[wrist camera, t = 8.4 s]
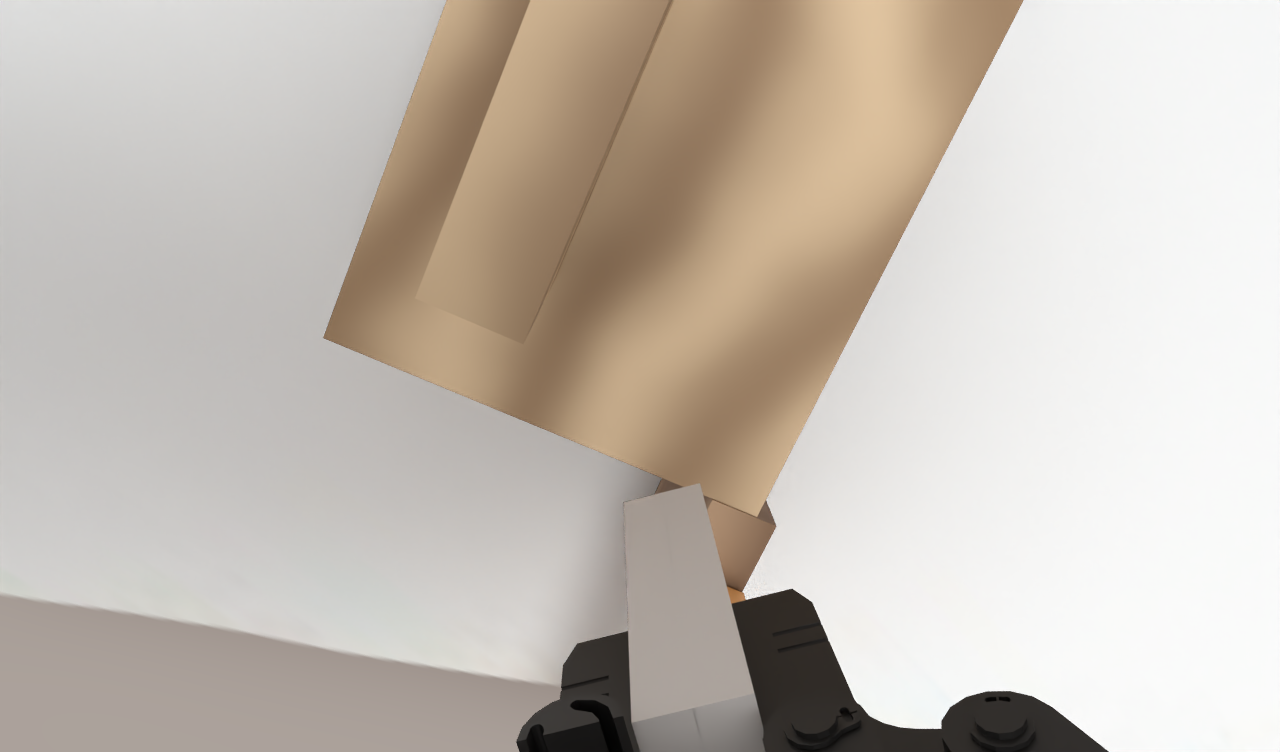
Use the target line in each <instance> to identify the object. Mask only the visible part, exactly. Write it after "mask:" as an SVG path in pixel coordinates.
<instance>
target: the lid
mask: <svg viewBox="0 0 1280 752" xmlns="http://www.w3.org/2000/svg"><path fill="white" fill-rule="evenodd" d="M1022 2H1023V0H447V1H446V4H445V6H444V9H443V12H442V15H441V17H440V20H439V23H438V26H437V28H436V31H435V34H434V36H433V39H432V42H431V45H430V47H429V50H428V53H427V56H426V58H425V61H424V64H423V67H422V69H421V72H420V75H419V77H418V80H417V83H416V86H415V88H414V91H413V94H412V97H411V99H410V102H409V105H408V108H407V110H406V113H405V116H404V118H403V121H402V124H401V127H400V129H399V132H398V135H397V138H396V140H395V143H394V146H393V149H392V151H391V154H390V157H389V159H388V162H387V165H386V168H385V170H384V173H383V176H382V179H381V181H380V184H379V187H378V190H377V192H376V195H375V198H374V200H373V203H372V206H371V209H370V211H369V214H368V217H367V220H366V222H365V225H364V228H363V231H362V233H361V236H360V239H359V241H358V244H357V247H356V250H355V252H354V255H353V258H352V261H351V263H350V266H349V269H348V272H347V274H346V277H345V280H344V282H343V285H342V288H341V291H340V293H339V296H338V299H337V302H336V304H335V307H334V310H333V312H332V315H331V318H330V321H329V323H328V326H327V329H326V332H325V334H324V337H323V338H324V339H327V340H329V341H332V342H334V343H336V344H339V345H341V346H344V347H346V348H349V349H351V350H353V351H356V352H358V353H361V354H363V355H366V356H368V357H370V358H373V359H375V360H378V361H380V362H382V363H385V364H387V365H390V366H392V367H395V368H397V369H399V370H402V371H404V372H407V373H409V374H412V375H414V376H416V377H419V378H421V379H424V380H426V381H428V382H431V383H433V384H436V385H438V386H441V387H443V388H445V389H448V390H450V391H453V392H455V393H458V394H460V395H462V396H465V397H467V398H470V399H472V400H474V401H477V402H479V403H482V404H484V405H487V406H489V407H491V408H494V409H496V410H499V411H501V412H504V413H506V414H508V415H511V416H513V417H516V418H518V419H520V420H523V421H525V422H528V423H530V424H533V425H535V426H537V427H540V428H542V429H545V430H547V431H550V432H552V433H554V434H557V435H559V436H562V437H564V438H566V439H569V440H571V441H574V442H576V443H579V444H581V445H583V446H586V447H588V448H591V449H593V450H596V451H598V452H600V453H603V454H605V455H608V456H610V457H612V458H615V459H617V460H620V461H622V462H625V463H627V464H629V465H632V466H634V467H637V468H639V469H642V470H644V471H646V472H649V473H651V474H654V475H656V476H658V477H661V478H663V479H666V480H668V481H671V482H673V483H675V484H678V485H680V486H683V487H687V486H691V485H695V484H699V483H700V485H701V489H702V493H703V495H704V496H707V497H709V498H712V499H714V500H717V501H719V502H721V503H724V504H726V505H729V506H731V507H734V508H736V509H738V510H741V511H743V512H746V513H748V514H750V515H753V516H755V517H757V516H758V514H759V512H760V510H761V508H762V506H763V504H764V503H765V501H766V499H767V497H768V495H769V493H770V491H771V489H772V487H773V485H774V483H775V481H776V479H777V477H778V475H779V473H780V472H781V470H782V468H783V466H784V464H785V462H786V460H787V458H788V456H789V454H790V452H791V450H792V448H793V446H794V444H795V442H796V440H797V439H798V437H799V435H800V433H801V431H802V429H803V427H804V425H805V423H806V421H807V419H808V417H809V415H810V413H811V411H812V409H813V408H814V406H815V404H816V402H817V400H818V398H819V396H820V394H821V392H822V390H823V388H824V386H825V384H826V382H827V380H828V378H829V377H830V375H831V373H832V371H833V369H834V367H835V365H836V363H837V361H838V359H839V357H840V355H841V353H842V351H843V349H844V347H845V345H846V344H847V342H848V340H849V338H850V336H851V334H852V332H853V330H854V328H855V326H856V324H857V322H858V320H859V318H860V316H861V314H862V313H863V311H864V309H865V307H866V305H867V303H868V301H869V299H870V297H871V295H872V293H873V291H874V289H875V287H876V285H877V283H878V282H879V280H880V278H881V276H882V274H883V272H884V270H885V268H886V266H887V264H888V262H889V260H890V258H891V256H892V254H893V252H894V250H895V249H896V247H897V245H898V243H899V241H900V239H901V237H902V235H903V233H904V231H905V229H906V227H907V225H908V223H909V221H910V219H911V218H912V216H913V214H914V212H915V210H916V208H917V206H918V204H919V202H920V200H921V198H922V196H923V194H924V192H925V190H926V188H927V187H928V185H929V183H930V181H931V179H932V177H933V175H934V173H935V171H936V169H937V167H938V165H939V163H940V161H941V159H942V157H943V155H944V154H945V152H946V150H947V148H948V146H949V144H950V142H951V140H952V138H953V136H954V134H955V132H956V130H957V128H958V126H959V124H960V123H961V121H962V119H963V117H964V115H965V113H966V111H967V109H968V107H969V105H970V103H971V101H972V99H973V97H974V95H975V93H976V92H977V90H978V88H979V86H980V84H981V82H982V80H983V78H984V76H985V74H986V72H987V70H988V68H989V66H990V64H991V62H992V61H993V59H994V57H995V55H996V53H997V51H998V49H999V47H1000V45H1001V43H1002V41H1003V39H1004V37H1005V35H1006V33H1007V31H1008V29H1009V28H1010V26H1011V24H1012V22H1013V20H1014V18H1015V16H1016V14H1017V12H1018V10H1019V8H1020V6H1021V4H1022Z"/></svg>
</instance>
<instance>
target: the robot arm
mask: <svg viewBox="0 0 1280 752" xmlns="http://www.w3.org/2000/svg"><path fill="white" fill-rule="evenodd" d="M623 503H624V531H625V558H626V586H627V614H628V631H627V632H623V633H619V634H615V635H611V636H607V637H603V638H599V639H594V640H590V641H586V642H582V643H578V644H577V645H576V647H575V648H574V650H573V651H572V653H571V654H570V656H569V657H568V659H567V660H566V662H565V663H564V665H563V672H562V684H561V688H562V691H561V695H560V700H557V701H555V702H552V703H550V704H549V705H547V706H546V707H544V708H543V709H541V710H539V711H538V712H537V713H535V714H534V715H533V716H532V717H531V718H530V719H529V720H528V722H527V723H526V724H525V725H524V726H523V727H522V729H521V731H520V734H519V737H518V739H517V746H518V748H519V751H520V752H1108V751H1107V750H1106V749H1105V748H1103V747H1102V746H1101V745H1099V744H1098V743H1097V742H1096V741H1094V740H1093V739H1092V738H1091V737H1089V736H1088V735H1087V734H1085V733H1084V732H1083V731H1082V730H1080V729H1079V728H1078V727H1077V726H1075V725H1074V724H1073V723H1071V722H1070V721H1069V720H1068V719H1066V718H1065V717H1064V716H1063V715H1061V714H1060V713H1059V712H1057V711H1056V710H1055V709H1054V708H1052V707H1051V706H1049V705H1047V704H1045V703H1044V702H1042V701H1040V700H1038V699H1036V698H1034V697H1032V696H1028V695H1024V694H1020V693H1015V692H1011V691H991V692H983V693H980V694H976V695H972V696H968V697H966V698H964V699H962V700H961V701H959V702H958V703H956V704H955V705H953V706H952V707H950V709H949V710H948V712H947V713H946V715H945V716H944V718H943V720H942V729H911V728H900V727H896V726H892V725H888V724H884V723H882V722H880V721H878V720H876V719H874V718H872V717H870V716H869V715H868V714H867V713H866V712H865V710H864V709H863V708H862V707H861V705H859V704H857V703H856V701H855V700H854V698H853V695H852V693H851V691H850V688H849V686H848V684H847V682H846V679H845V677H844V675H843V672H842V670H841V668H840V665H839V663H838V661H837V659H836V656H835V654H834V652H833V649H832V647H831V645H830V642H829V641H828V638H827V635H826V633H825V631H824V629H823V626H822V625H821V622H820V619H819V617H818V615H817V612H816V610H815V608H814V606H813V603H812V602H811V601H809V600H808V599H806V598H805V597H803V596H802V595H801V594H799V593H798V592H796V591H795V590H793V589H789V590H785V591H781V592H777V593H773V594H769V595H765V596H761V597H757V598H752V599H748V600H744V601H740V602H736V603H732V604H731V601H730V597H729V593H728V589H727V585H726V582H725V578H724V574H723V570H722V566H721V562H720V558H719V555H718V551H717V547H716V543H715V539H714V535H713V531H712V528H711V524H710V520H709V516H708V512H707V508H706V504H705V501H704V497H703V493H702V489H701V485H700V483H699V484H695V485H691V486H687V487H683V488H678V489H674V490H670V491H666V492H662V493H658V494H654V495H650V496H646V497H642V498H638V499H634V500H630V501H626V502H623Z"/></svg>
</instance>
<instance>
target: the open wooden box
mask: <svg viewBox="0 0 1280 752" xmlns="http://www.w3.org/2000/svg"><path fill="white" fill-rule="evenodd" d="M678 488H683V486H680V485H678V484H675V483H673V482H671V481H668V480H666V479H663V478H662V479H661V481H660V484H659V486H658V488H657V490H656V492H655V494H658V493H662V492H666V491H670V490H674V489H678ZM703 497H704V501H705V504H706V508H707V512H708V516H709V520H710V524H711V528H712V531H713V535H714V539H715V543H716V547H717V551H718V555H719V558H720V562H721V566H722V570H723V574H724V578H725V582H726V585H727V587H730V588H732V589H735V590H737V591H740V592H742V591H743V589H744V587H745V585H746V583H747V582H748V580H749V578H750V576H751V574H752V572H753V570H754V568H755V566H756V564H757V562H758V560H759V559H760V557H761V555H762V553H763V551H764V549H765V547H766V545H767V543H768V541H769V539H770V538H771V536H772V534H773V532H774V530H775V528H776V524H775V521H774V519H773V516H772V514H771V511H770V509H769V507H768V504H767V502H766V501H765V503H764V504H763V506H762V508H761V510H760V512H759V514H758V516H757V517H755V516H753V515H750V514H748V513H746V512H743V511H741V510H738V509H736V508H734V507H731V506H729V505H726V504H724V503H721V502H719V501H717V500H714V499H712V498H709V497H707V496H704V495H703Z"/></svg>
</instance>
